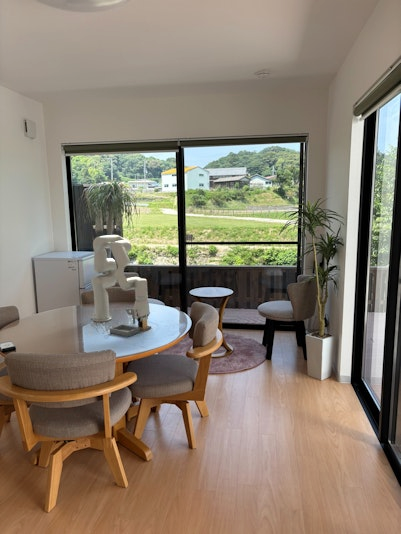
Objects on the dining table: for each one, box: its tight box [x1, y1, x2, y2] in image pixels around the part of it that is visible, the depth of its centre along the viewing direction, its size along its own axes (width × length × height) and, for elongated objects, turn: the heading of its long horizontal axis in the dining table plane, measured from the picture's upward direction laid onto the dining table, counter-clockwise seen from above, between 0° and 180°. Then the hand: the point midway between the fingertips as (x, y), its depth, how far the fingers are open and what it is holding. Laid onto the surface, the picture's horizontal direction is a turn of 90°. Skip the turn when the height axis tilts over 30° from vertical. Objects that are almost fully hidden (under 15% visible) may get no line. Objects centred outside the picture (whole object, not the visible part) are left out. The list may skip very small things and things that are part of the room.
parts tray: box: [109, 323, 141, 338], centre depth 250 cm, size 15×11×3 cm
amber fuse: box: [139, 316, 148, 329], centre depth 256 cm, size 4×4×8 cm
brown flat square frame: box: [136, 325, 152, 333], centre depth 257 cm, size 8×8×2 cm
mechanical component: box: [125, 307, 136, 325], centre depth 270 cm, size 3×10×10 cm, turn 79°
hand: (142, 325), depth 257 cm, fingers closed on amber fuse, 3 cm apart
